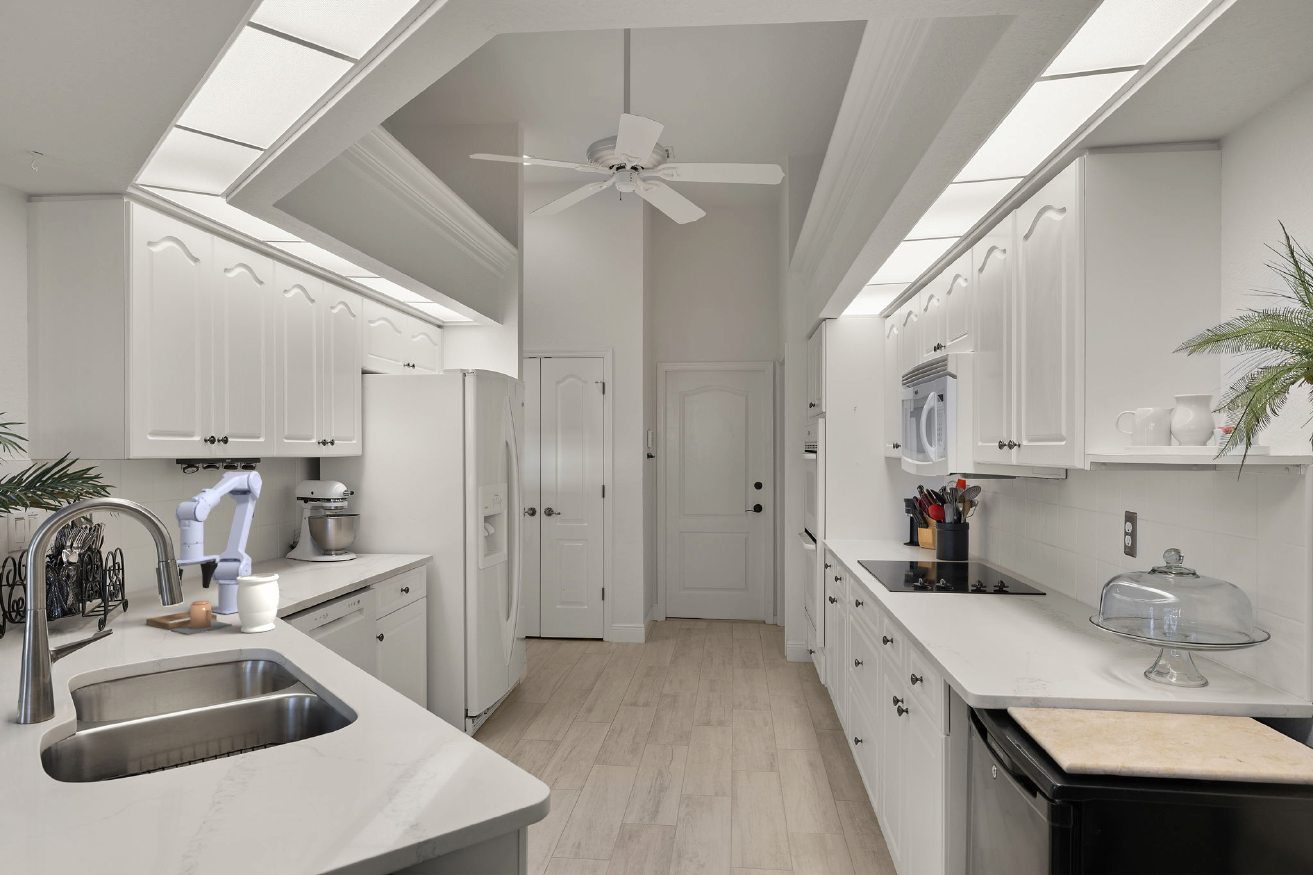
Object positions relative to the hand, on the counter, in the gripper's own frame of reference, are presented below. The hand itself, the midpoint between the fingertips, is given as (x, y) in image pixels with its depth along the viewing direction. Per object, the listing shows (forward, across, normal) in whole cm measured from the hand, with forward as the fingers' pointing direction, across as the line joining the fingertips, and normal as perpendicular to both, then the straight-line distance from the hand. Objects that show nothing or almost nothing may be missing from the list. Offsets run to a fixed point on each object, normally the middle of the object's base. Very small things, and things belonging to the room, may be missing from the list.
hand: (192, 590), depth 213 cm
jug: (+10, +1, +7) cm, 12 cm away
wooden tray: (+10, 0, -6) cm, 12 cm away
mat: (+10, +1, +7) cm, 12 cm away
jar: (+10, -6, +23) cm, 26 cm away
